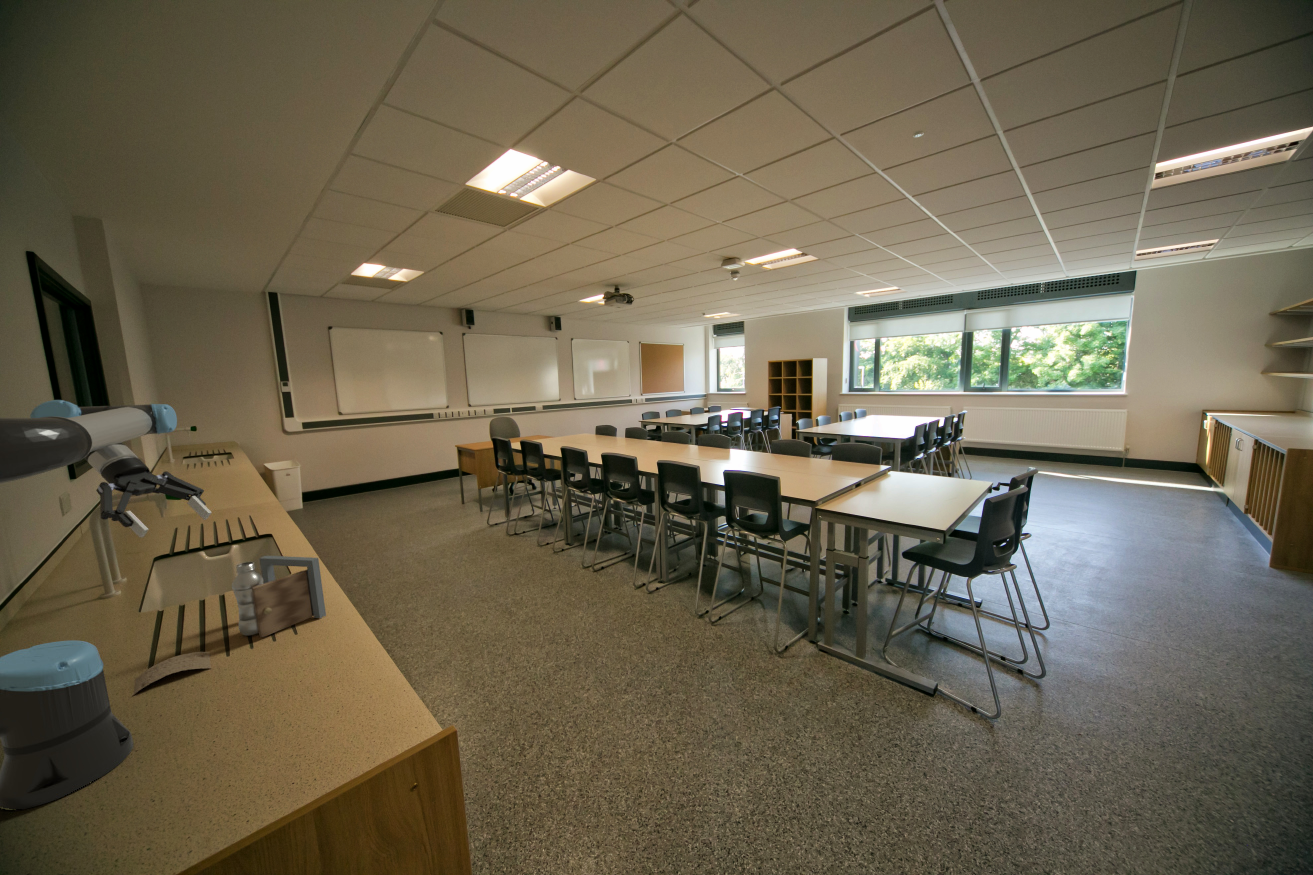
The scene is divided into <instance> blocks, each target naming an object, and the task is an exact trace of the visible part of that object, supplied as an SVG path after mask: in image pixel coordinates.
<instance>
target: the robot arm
mask: <svg viewBox="0 0 1313 875" xmlns="http://www.w3.org/2000/svg"><path fill="white" fill-rule="evenodd" d="M177 426H178V418H177V413H176V411H175V409H174V408H173V407H172V406H171V405H169V404H166V403H159V404H158V403H150V404H148V403H147V404H128V405H126V404H125V405H100V406H99V405H98V406H94V405H93V406H78V405H77V404H75V403H72V402H70V401H66V400H62V399H54V400H53V399H52V400H48V401H45V402H42V403H40V404H38V405H37V406H35V407H34V408H33V409H32V411H31V413H30V417H23V418H22V417H19V418H18V417H0V484H3V483H9V482H13V481H14V482H15V481H18V480H22V479H26V478H29V477H33V476H36V475H37V476H38V475H42V474H45V473H47V472H51V471H53V470H57V469H60V468H63V467H64V468H65V467H67V466H69V465H72V464H75V463H77V462H80V461H82V460H83V459H84V460H85V461H86V462H87V463H89V465H90V466H91V467H92V468H93V469H94V470H95V471H96V472H97V473H98V474H99V475H101V477H102V478H103V479H104V480H105V481H106V482H105V481H101V482H100V483H99V485H98V487H97V489H96V492H97V494H98V495H99V500H100V502H99V503H100V504H99V505H100V506H99V508H100V519H101V520H108V519H111V521H112V522H119V524H121V525H122V526H123V527H125V528H129V529H131V530H132V532H134V534H135V535H136V536H138V537H139V538H144V537H145V536H146V535H147V533H148V532H149V530H150V529H149V528H148V527H147V525H145V524H144V523H143V522H142V520H140V519H139V518H138V517H137V516H136V515H135V514H134V513H133V512H132V511H131V510H126V509H127V506H128V504H129V502H130V500H131V497H132V496H135V497H138V496H141V495H145V494H146V495H147V494H152V493H154V494H162V495H167V496H170V497H173V498H177V499H181V500H185V501H187V504H188V506H189V507H190V508H191V509H192V510H194V512H196V514H198V516H199V517H200V518H202V520H204V521H205V520H208V519H209V517H210V515H211V514H212V513H213V512H212V511H211V510H210V509H209V508H208V507H207V505H206V502H205V501H204V500H203V499H202V498H201V496H202V495H203V493H204V492H205V490H204V489H203V488H201V487H199V486H196V485H194V484H191V483H190V482H188V481H185V480H183V479H182V478H181V479H180V478H178V477H177V476H174V475H173V474H171V473H170V471H167V470H166V471H163V472H162V473H161V474H157V475H155V474H153V473H152V471H151V470H150V468H149V467H148V466H147V465H146V464H145V463H144V462H143V461H142V459H140V458H139V456H137V455H136V454H135V452H133V451H132V450H131V449H130V448H129V447H128V446H127V445H126V444H125V443H124V442H127V441H130V440H133V439H137V438H140V437H143V436H147V435H154V434H156V435H161V434H169V433H170V434H171V433H172V432H174V431H175V430H176V428H177ZM157 486H158V487H157ZM113 490H115V491H118V492H121V493H122V495H121V497H120V500H119V502H118V504H117V507H116V509H113ZM105 677H106V676H105V672H104V662H103V660H102V659H101V656H100V653H99V650H98V648H97V646H95V645H94V644H92V643H90V642H88V641H85V640H84V641H83V640H60V641H59V640H58V641H52V642H45V643H41V644H37V645H32V646H31V647H29V648H22V649H18V650H14V651H13V652H9V653H8V654H4V655H2V656H0V742H1V746H2V748H3V753H4V757H3V761H2V764H1V768H0V807H3V808H9V809H22V810H26V809H31V808H35V807H39V806H41V805H45V804H47V803H50V802H53V801H55V800H58V799H60V798H64V797H65V795H66V796H68V795H70V794H72V793H74V792H76V791H78V790H80V789H82V788H84V787H86V786H88V785H89V783H90V782H92V781H93V782H95V781H97V780H99V779H100V778H102V777H103V776H105V775H106V774H108V773H110V771H112V770H113V769H115V768H116V767H117V766H119V765H120V764H121V763H123V761H124V760H126V758H127V757H128V756H129V755H130V753H131V752H132V751H133V748H134V742H133V737H132V733H131V730H129V729H128V728H127V727H126V726H125V725H124V724H123V723H122V722H121V721H120V719H119V718H118V717H116V715H114V714H113V712H112V708H111V704H110V698H109V693H108V692H109V691H108V688H107V683H106V678H105ZM98 778H99V779H98ZM96 779H97V780H96ZM94 780H95V781H94ZM93 782H92V783H93ZM87 784H88V785H87ZM90 784H91V783H90ZM85 785H86V786H85ZM83 786H84V787H83ZM81 787H82V788H81ZM79 788H80V789H79ZM77 789H78V790H77ZM75 790H76V791H75ZM73 791H74V792H73ZM71 792H72V793H71ZM67 794H68V795H67Z"/></svg>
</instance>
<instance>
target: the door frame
mask: <svg viewBox="0 0 1313 875" xmlns="http://www.w3.org/2000/svg"><path fill="white" fill-rule="evenodd" d="M259 564H260V571H261V576H262V578H263V584H264V583H267V582H270V581H273V580H276V575H275V568H274V566H284V567H301V568H306V570H308V577H309V585H310V592H311V599H312V606H313V613H314V616H313V619H314V618H321V619H322V617H323V616H324V617H326V616H327V612H326V604H325V598H324V590H323V582H322V576H321V569H320V560H319V557H312V556H311V557H310V556H309V557H307V556H287V555H283V556H282V555H264V556H261V557H259ZM324 617H323V618H324Z"/></svg>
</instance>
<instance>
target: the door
mask: <svg viewBox="0 0 1313 875" xmlns="http://www.w3.org/2000/svg"><path fill="white" fill-rule="evenodd" d="M252 593H253V599H254V605H255V612H256V618H257V624H258V631H259V633H258V635H259V637H260V638H264V637H268V636H269V635H272V634H273V633H277V632H278V631H281V630H283V629H286V628H288V627H291V626H294V625H295V624H297V623H300V622H303V621H305V620H307V619H310V618H312V617H314V613H313V606H312V599H311V592H310V585H309V577H308V570H307V569H305V570H300V571H297V572H294V573H292V574H289V575H286V576H283V577H280V578H277V579H276V578H275V580H273V581H270V582H267V583H264V584H261V585H258V586H255V587H253V588H252Z"/></svg>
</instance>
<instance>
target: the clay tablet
mask: <svg viewBox="0 0 1313 875" xmlns="http://www.w3.org/2000/svg"><path fill="white" fill-rule="evenodd" d="M196 669H212V666H211V652H209V651H208V652H207V651H195V652H194V651H193V652H189V653H184V654H180V655H176V656H172V657H169V658H167V659H165V660H162V661H161V662H160V661H159V662H158V663H157V664H154V665H153V666H151V667H149V668H148V669H146V670H145V671H144V672H142V673H141V674H140V675H138V676H137V677H136V678H135V679H134V686H133V694H132V696H135V695H136V694H137V693H138V692H140V691H141V690H142V689H143V688H146V687H147V686H149V685H150V684H152V683H154V682H156V681H158V680H160V679H162V678H164V677H166V676H169V675H171V674H175V673H179V672H181V671H188V670H196Z"/></svg>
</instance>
